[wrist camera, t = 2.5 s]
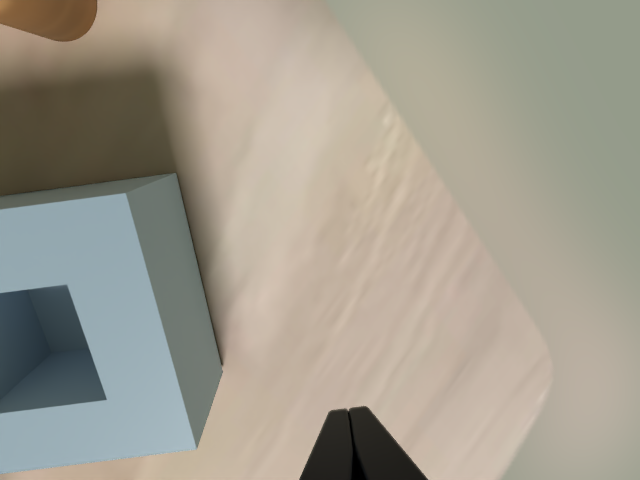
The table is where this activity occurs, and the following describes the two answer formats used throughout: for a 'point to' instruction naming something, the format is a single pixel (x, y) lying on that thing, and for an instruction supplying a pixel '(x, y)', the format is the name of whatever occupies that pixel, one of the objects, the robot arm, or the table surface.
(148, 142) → the table surface
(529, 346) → the table surface
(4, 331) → the block
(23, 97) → the table surface
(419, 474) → the robot arm
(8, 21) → the dowel
